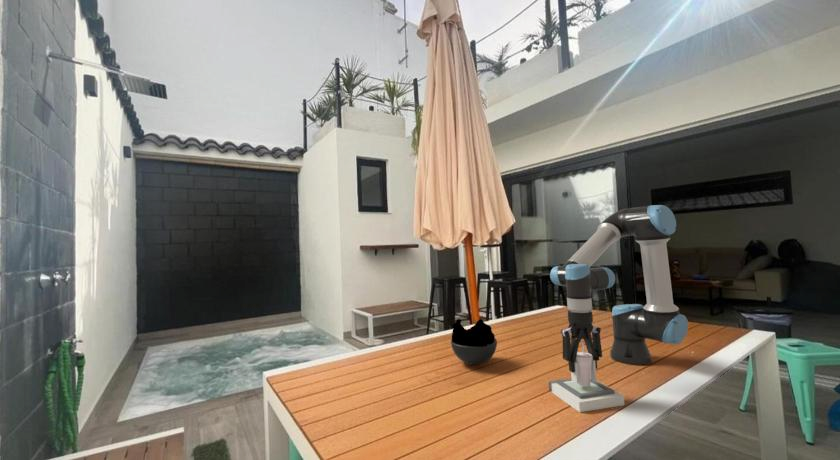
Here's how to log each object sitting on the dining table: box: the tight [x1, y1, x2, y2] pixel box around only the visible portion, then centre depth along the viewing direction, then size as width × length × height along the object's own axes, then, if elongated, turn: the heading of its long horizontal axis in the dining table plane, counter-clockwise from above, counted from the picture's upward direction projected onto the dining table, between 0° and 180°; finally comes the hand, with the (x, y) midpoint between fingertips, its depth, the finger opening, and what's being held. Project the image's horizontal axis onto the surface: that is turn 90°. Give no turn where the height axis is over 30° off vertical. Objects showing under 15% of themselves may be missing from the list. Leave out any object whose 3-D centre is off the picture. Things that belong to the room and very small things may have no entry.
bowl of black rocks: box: [450, 318, 498, 366], centre depth 148 cm, size 20×20×19 cm
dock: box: [548, 378, 625, 413], centre depth 112 cm, size 16×16×4 cm
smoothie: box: [575, 341, 593, 387], centre depth 113 cm, size 6×6×14 cm
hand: (583, 380), depth 112 cm, fingers closed on smoothie, 6 cm apart
